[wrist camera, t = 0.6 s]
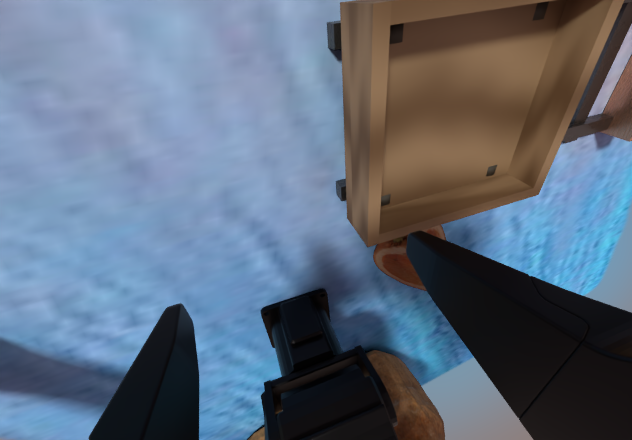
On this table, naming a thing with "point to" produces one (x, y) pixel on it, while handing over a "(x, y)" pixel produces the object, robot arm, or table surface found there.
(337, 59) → the table surface
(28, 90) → the table surface
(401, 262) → the fruit slice
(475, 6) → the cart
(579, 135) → the rail track
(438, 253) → the robot arm
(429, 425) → the bread
